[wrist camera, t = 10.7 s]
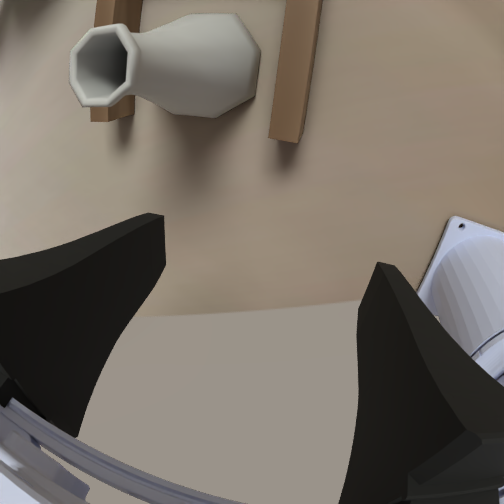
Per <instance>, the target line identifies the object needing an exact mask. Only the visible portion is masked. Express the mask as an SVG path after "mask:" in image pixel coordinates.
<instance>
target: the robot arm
mask: <svg viewBox="0 0 504 504" xmlns="http://www.w3.org/2000/svg"><path fill="white" fill-rule="evenodd" d="M461 223H463V226H462V227H461V228H459V225H460V224H461ZM165 266H166V253H165V230H164V216H163V215H158V214H153V213H146V214H142V215H139V216H136V217H133V218H130V219H128V220H125V221H123V222H120V223H118V224H115V225H113V226H110V227H108V228H105V229H103V230H100V231H98V232H95V233H93V234H90V235H87V236H85V237H82V238H80V239H77V240H75V241H72V242H69V243H66V244H63V245H60V246H57V247H53V248H50V249H47V250H43V251H40V252H35V253H31V254H27V255H23V256H18V257H14V258H8V259H2V260H0V504H90V503H87V502H86V501H85V497H86V495H87V493H88V491H89V489H90V488H89V486H88V485H87V484H85V483H84V482H82V481H81V480H79V479H78V478H77V477H75V476H74V475H72V474H71V473H70V472H69V471H67V470H66V469H65V468H64V467H63V466H62V465H61V464H60V463H58V462H57V461H55V460H54V459H52V458H51V457H50V456H48V455H47V454H45V453H44V452H43V451H41V447H40V445H41V446H42V447H44V448H45V449H47V450H48V451H50V452H52V453H53V454H55V455H56V456H58V457H59V458H61V459H63V460H64V461H66V462H67V463H69V464H71V465H73V466H74V467H76V468H78V469H79V470H81V471H83V472H85V473H87V474H88V475H90V476H92V477H94V478H96V479H98V480H100V481H102V482H104V483H106V484H108V485H110V486H112V487H114V488H116V489H118V490H120V491H122V492H124V493H127V494H129V495H131V496H134V497H136V498H138V499H141V500H143V501H146V502H148V503H150V504H246V503H241V502H237V501H233V500H228V499H224V498H221V497H217V496H213V495H209V494H206V493H203V492H200V491H196V490H193V489H190V488H187V487H184V486H181V485H178V484H175V483H172V482H169V481H166V480H164V479H161V478H159V477H156V476H153V475H151V474H148V473H146V472H143V471H141V470H139V469H136V468H134V467H132V466H129V465H127V464H125V463H123V462H120V461H118V460H116V459H114V458H112V457H110V456H108V455H106V454H104V453H101V452H100V451H98V450H96V449H94V448H92V447H90V446H88V445H86V444H85V443H83V442H81V441H79V440H77V439H75V438H76V437H78V434H79V431H80V427H81V424H82V421H83V418H84V415H85V411H86V408H87V405H88V403H89V400H90V398H91V395H92V393H93V390H94V387H95V385H96V382H97V380H98V378H99V376H100V374H101V371H102V369H103V367H104V365H105V363H106V361H107V359H108V357H109V355H110V353H111V351H112V349H113V347H114V345H115V343H116V341H117V340H118V338H119V337H120V335H121V333H122V332H123V330H124V329H125V327H126V326H127V324H128V323H129V321H130V320H131V319H132V318H133V316H134V315H135V313H136V312H137V311H138V309H139V308H140V306H141V305H142V304H143V302H144V301H145V299H146V298H147V297H148V295H149V294H150V292H151V291H152V290H153V288H154V287H155V285H156V283H157V281H158V279H159V278H160V276H161V274H162V272H163V270H164V268H165ZM434 315H435V316H439V319H440V323H441V324H440V323H439V322H438V320H437V319H436V318H435V317H434ZM357 357H358V385H359V396H358V397H359V398H358V410H357V419H356V427H355V433H354V440H353V445H352V451H351V456H350V461H349V465H348V470H347V474H346V479H345V483H344V486H343V490H342V493H341V497H340V500H339V504H504V232H501V231H498V230H496V229H493V228H490V227H487V226H484V225H482V224H479V223H476V222H473V221H470V220H467V219H464V218H461V217H458V216H453V217H451V218H450V219H449V221H448V223H447V226H446V228H445V231H444V233H443V236H442V238H441V240H440V243H439V245H438V248H437V250H436V252H435V255H434V257H433V259H432V261H431V264H430V266H429V268H428V270H427V272H426V274H425V276H424V279H423V281H422V283H421V285H420V287H419V289H418V291H417V293H416V292H415V291H414V289H413V288H412V286H411V285H410V284H409V283H408V281H407V280H406V279H405V277H404V276H403V275H402V273H401V272H400V271H399V270H398V269H397V268H396V267H395V266H394V265H390V264H386V263H382V262H377V264H376V267H375V269H374V272H373V274H372V277H371V279H370V282H369V284H368V287H367V289H366V292H365V294H364V297H363V299H362V301H361V304H360V306H359V308H358V320H357Z"/></svg>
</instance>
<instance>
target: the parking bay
mask: <svg viewBox="0 0 504 504" xmlns="http://www.w3.org/2000/svg"><path fill="white" fill-rule="evenodd" d="M142 1H143V0H97V5H96V13H95V22H94V28H96V27H101V26H107V25H112V24H124V25H126V26H127V28H128V30H129V31H130V32H131V33H139V26H140V17H141V9H142ZM321 8H322V0H287V2H286V10H285V17H284V25H283V32H282V40H281V47H280V55H279V62H278V70H277V77H276V85H275V92H274V99H273V107H272V114H271V122H270V129H269V137H268V138H271V139H277V140H282V141H288V142H293V143H298V141H299V140H300V138H301V136H302V134H303V129H304V123H305V117H306V111H307V104H308V98H309V92H310V85H311V79H312V72H313V65H314V59H315V52H316V45H317V38H318V30H319V23H320V16H321ZM134 102H135V95H125V96H124V97H123V98H122V99H120V100H119V101H118V102H117V103H116V104H115V105H113V106H111V107H90V110H91V122H109V121H112V120H116V119H119V118H122V117H126V116H129V115H132V114H134Z"/></svg>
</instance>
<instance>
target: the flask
mask: <svg viewBox="0 0 504 504" xmlns="http://www.w3.org/2000/svg"><path fill="white" fill-rule="evenodd" d="M260 53H261V50H260V48H259V47H258V45H257V44H256V42H255V41H254V39H253V37H252V36H251V34H250V33H249V31H248V30H247V28H246V27H245V25H244V24H243V22H242V21H241V19H240V18H239V16H238V15H237V14H232V13H195V14H189V15H186V16H184V17H182V18H179V19H177V20H175V21H173V22H171V23H168V24H166V25H163V26H160V27H158V28H156V29H153V30H151V31H148V32H145V33H131V32H130V31H129V30H128V28H127V26H126V25H124V24H112V25H107V26H101V27H96V28H91V29H90V30H89V31H88V32H87V33H86V34H85V35H84V36H83V37H82V38H81V39H80V41H79V42H78V43H77V44H76V45H75V46H74V47H73V48H72V50H71V51H70V63H69V84H70V86H71V87H72V89H73V91H74V93H75V95H76V97H77V98H78V100H79V102H80V104H81V106H82V107H111V106H113V105H115V104H116V103H117V102H118V101H119V100H120V99H122V98H123V97H124V96H125V95H137V96H140V97H142V98H144V99H146V100H148V101H151V102H153V103H155V104H157V105H159V106H160V107H162V108H164V109H165V110H167V111H168V112H170V113H172V114H176V115H188V116H198V117H207V118H217V117H219V116H220V115H222V114H224V113H225V112H227V111H229V110H231V109H232V108H234V107H236V106H238V105H239V104H241V103H243V102H245V101H247V100H248V99H250V98H252V97H254V96H255V91H256V84H257V76H258V68H259V61H260Z"/></svg>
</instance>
